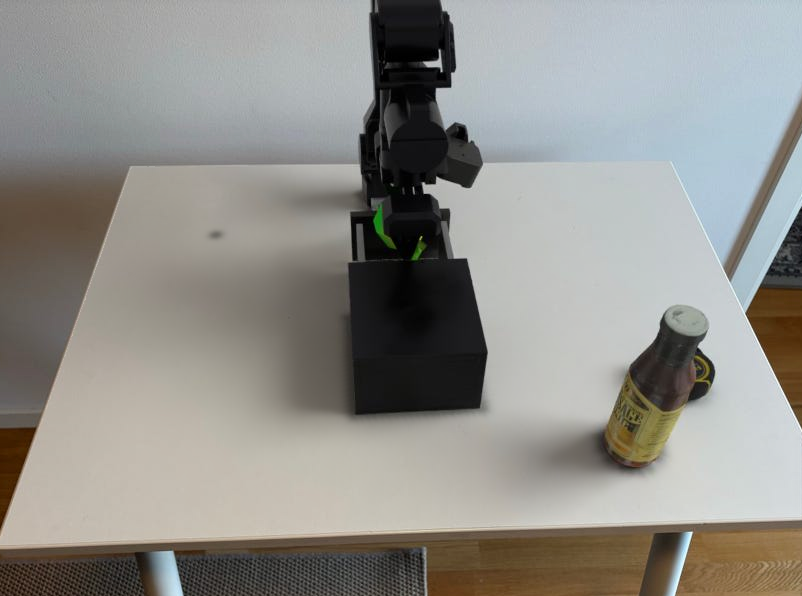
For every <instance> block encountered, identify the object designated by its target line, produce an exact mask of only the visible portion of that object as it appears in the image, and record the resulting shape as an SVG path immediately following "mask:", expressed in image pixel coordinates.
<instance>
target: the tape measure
mask: <svg viewBox="0 0 802 596" xmlns="http://www.w3.org/2000/svg"><path fill="white" fill-rule="evenodd" d="M693 359H694V365H695V368H696V379H695V383H694V386H693V388H692V390H691V391H690V393H689V396H688V400H687V402H692V401H696V400H699V399H701V398H703V397H705V396H706V395H707V394H708V393H709V391H710V389H711V387H712V386H713V383H714V380H715V377H716V369H715V365H714V363H713V361H712V359H710V358H709V357H708V356H707V355H706V354H704V352H703V351H702V349H701V348H700V347H699V346H698V347H697V349H696V351H695V356H694V358H693Z"/></svg>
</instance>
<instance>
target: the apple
mask: <svg viewBox="0 0 802 596" xmlns="http://www.w3.org/2000/svg"><path fill="white" fill-rule="evenodd" d="M373 221H374V225H375V229H376V232H377V234H378V235H379V236H380V237H381V239H382V240H383V241H384V242H385V244H386V245H387V246H388V247H389V248H393V249H396V247H395V245H394V243H393V242H392V240H391V238H390V237H388V236H386V235H384V233H383V223H382V203H381V204H380V207H379V209H378V211H377V213H376V215H375V218H374V220H373ZM421 238H422V236H421ZM421 238H420V240H419V242H418V245H417V247H416V250H415V253H414V255H413V258H412V259H411V260H418V259H419V258H420V256H421V253H422V250H424V249H425V247H426V246H427V245H426V244H424V243H423V242H422V241H421Z"/></svg>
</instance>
